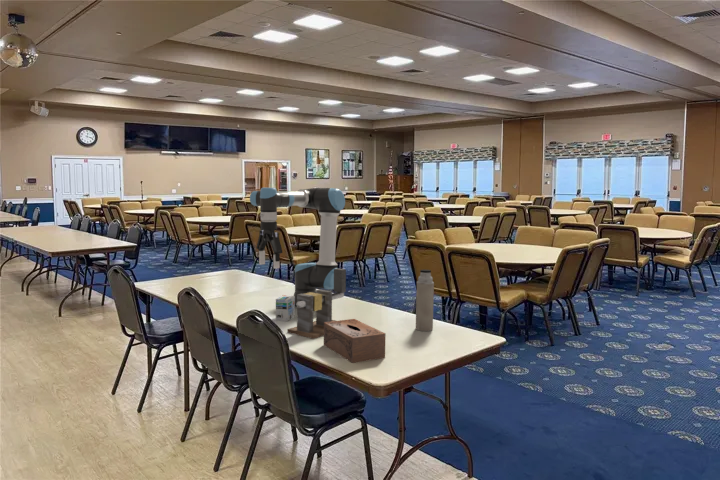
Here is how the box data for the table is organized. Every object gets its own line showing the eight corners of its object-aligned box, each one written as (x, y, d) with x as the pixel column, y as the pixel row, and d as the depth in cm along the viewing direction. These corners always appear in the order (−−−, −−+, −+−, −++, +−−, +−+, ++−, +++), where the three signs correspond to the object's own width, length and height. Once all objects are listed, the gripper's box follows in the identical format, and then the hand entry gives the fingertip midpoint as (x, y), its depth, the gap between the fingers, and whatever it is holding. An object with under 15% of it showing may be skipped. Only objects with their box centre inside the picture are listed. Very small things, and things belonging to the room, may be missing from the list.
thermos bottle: (417, 326, 265) (419, 268, 262) (434, 327, 262) (435, 269, 259) (413, 330, 258) (415, 270, 255) (430, 331, 255) (432, 271, 252)
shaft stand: (324, 321, 272) (325, 285, 270) (350, 326, 262) (350, 289, 260) (287, 332, 251) (287, 293, 249) (313, 338, 241) (314, 298, 240)
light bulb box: (288, 321, 271) (288, 299, 270) (275, 320, 272) (275, 298, 271) (295, 316, 281) (295, 295, 280) (282, 315, 283) (282, 294, 281)
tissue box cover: (323, 345, 233) (323, 322, 231) (353, 341, 239) (354, 318, 238) (352, 363, 210) (352, 338, 209) (385, 358, 217) (385, 333, 216)
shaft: (337, 296, 269) (337, 268, 268) (345, 298, 266) (345, 269, 265) (294, 307, 246) (294, 276, 244) (303, 309, 243) (303, 277, 241)
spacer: (310, 307, 256) (310, 292, 255) (321, 309, 251) (322, 294, 251) (303, 309, 252) (303, 293, 251) (314, 311, 247) (314, 295, 247)
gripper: (248, 219, 264) (249, 263, 266) (275, 223, 244) (275, 270, 247) (262, 218, 268) (263, 262, 271) (289, 222, 249) (290, 269, 251)
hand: (269, 266), depth 259 cm, fingers open, 13 cm apart
